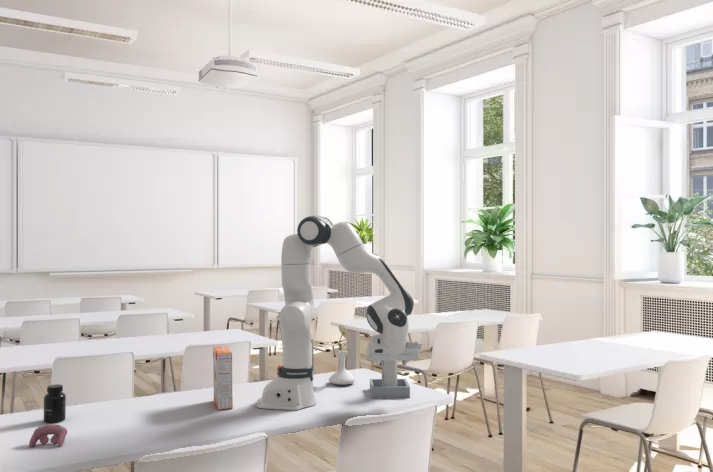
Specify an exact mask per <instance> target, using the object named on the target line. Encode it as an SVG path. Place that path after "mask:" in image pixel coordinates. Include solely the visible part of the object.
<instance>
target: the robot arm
mask: <svg viewBox="0 0 713 472" xmlns="http://www.w3.org/2000/svg"><path fill="white" fill-rule="evenodd" d="M296 232H297V233H296V234H295V233H294V234H289V235H287V236H286V237H285V238H284V239H283V243H282V248H281V257H280V259H281V262H280V263H281V264H280V265H281V267H280V268H281V286H282V290H283V296H284V303H285V304H284V306H283V307H282V308H281V309H280V312H279V317H278V318H279V324H280V325H279V326H280V334H281V341H282V365H281V364H279V365H278V366H277V367H276V371H277V376H275V378H273V379H272V380H271V381H270V382H268V383H267V384H266V385H265V387H264V388H263V390H262V394H261V397H259V398H258V399H257V400H256V403H255V406H256V408H258V409H266V410H267V409H269V410H288V411H289V410H290V411H291V410H292V411H298V410H301V409H304V408H309V407H313V406H315V405H316V404H317V399H316V396H315V389H314V384H313V380H314V375H315V374H314V373H315V371H314V365H313V343H312V337H311V328H310V327H311V325H310V324H311V322H313V319H314V317H315V306H314V305H315V304H314V295H313V289H312V271H311V270H312V268H311V267H312V266H311V252H312V249H313V248H315V247H318V246H321V245H325V244H327V245H329V246H330V247H331V249H332V250H333V252H334V255H335V256H336V258H337V260H338V262H339V264H340V265H341V267H342V268H343V269H344V270H345V271H347V272H350V273H351V274H352V273H353V274H363V273H369V274H370V273H371V274H374V275H376V276H378V278H379V279H380V280H381V282H382V284H383V285H384V286H385V287H386V288H387V290H388V291H389V293H390V294H388V295H386V296H384V297H382V298H381V299H378V300H377V301H374V302H373V303H371V304H369V305H368V306H367V308H366V313H365V314H366V320H367V323H368V324H369V326H370V327H371V328H372V329H373V330H374V331H375V332H377V334H375V335H371V336H370V341H369V342H368V343H367V347H366V351H365V352H366V353H365V354H366V355H365V356H366V357H365V359H366V360H367V361H369V362H372V361H373V362H374V361H375V362H376V363H377V366H382V361H387V360H397V361H401V365H402V366H407V363H409V362H410V361H418V360H419V359H421V355H420V354H421V353H420V350H422V347H423V345H422V343H421V342H420V343H419V342H418V341H408V334H409V317H408V316H410V315H411V314H412V312H413V310H414V306H415V303H414V299H413V298H412V296H411V295H410V293H409V292H408V291H407V290H406V289H405V288H404V287H403V286H402V284H401V283H400V281H399V279H397V277H396V276H395V274H394V273H393V272H392V271H391V269H390V268H389V266H388V265H387V264H386V262H385V261H384V260H383V259H382V257H380V256H379V255H378V254H375V253H372V252H371V251H370V250H368V248H367V247H366V246H365V244H364V242H363V240H362V239H361V237H360V235H359V233H358V232H357V230H355V228H354V227H353V225H352V224H351V223H349V222H348V221H341V222H337V223H335V224H333V222H332V221H331V220H330V219H329V218H328V217H325V216H321V215H313V216H311V215H309V216H306V217H304V218H302V219H301V220H300V222H299V224H298V225H297V230H296Z"/></svg>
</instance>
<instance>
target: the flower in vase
mask: <svg viewBox="0 0 713 472" xmlns="http://www.w3.org/2000/svg"><path fill="white" fill-rule="evenodd" d="M337 327H338V331H339V332H340V335H341V336H340V339H339V341H337V346H339V348H340V350H336V352H335V353H336V354H337V356H338V361H339V366H338V369H337V371H334V373H333V374H332V375H331V376H330V377H329V378H328V382H329V383H330V384H332V385H338V386H346V385H347V386H348V385H351V384H353V383H355V381H356V378H355V376H354V375H352V374H351V373H350V372H349V371H348V370H347V369H346V367H345V365H346V364H345V363H346V356H347V354H348V351H347V350H342V349H343V348H344V347H346V343H344V345H342V346H341V341H342V340H341V339H342V337H344V339H346V340H347V341H350V340H352V338H351V337H352V335H351V334H350V332H349V329H348V328H346V327H345V325H342V324H339V325H338V326H337Z"/></svg>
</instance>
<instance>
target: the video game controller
mask: <svg viewBox="0 0 713 472" xmlns="http://www.w3.org/2000/svg"><path fill="white" fill-rule="evenodd" d="M49 435H52V436H51V437H50V439H49ZM67 435H68V430H67V428H66V427H64V426H63V425H59V424H57V423H47V424H44V425H38V427H37V428H35V430H34V431H33V434H32V435H31V438H30V440H29V444H28V446H29V448H33V447H34V446H35V445H36V444H37V442H38V441H39V442H40V443H41V444H42V445H46V444H48V443H49V441H50V443H51V444H53V445H57V447H59V448H61V446H63V444H64V442H65V439H66V436H67Z"/></svg>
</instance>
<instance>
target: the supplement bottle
mask: <svg viewBox="0 0 713 472" xmlns="http://www.w3.org/2000/svg"><path fill="white" fill-rule="evenodd" d="M63 386H64V385H63V384H49V385H47V386H46V387H47V388H46V394H44V397H43V422H44V423H45V424H59V423H62V422H63V421H65V420H66V411H67V409H66V405H67V404H66V403H67V402H66V400H67V397H66V396H67V395H66V393H65V392H63V391H64V387H63Z"/></svg>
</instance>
